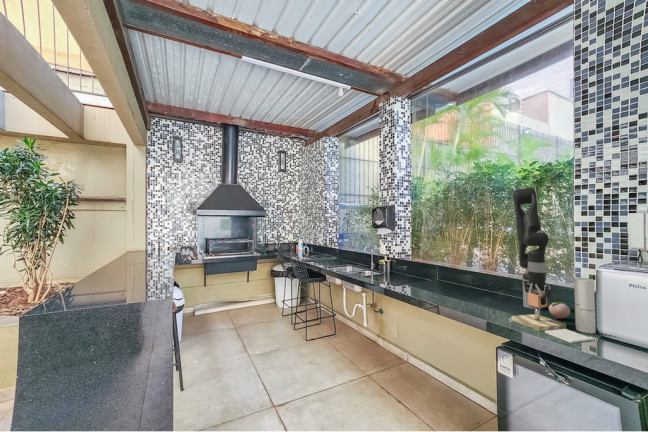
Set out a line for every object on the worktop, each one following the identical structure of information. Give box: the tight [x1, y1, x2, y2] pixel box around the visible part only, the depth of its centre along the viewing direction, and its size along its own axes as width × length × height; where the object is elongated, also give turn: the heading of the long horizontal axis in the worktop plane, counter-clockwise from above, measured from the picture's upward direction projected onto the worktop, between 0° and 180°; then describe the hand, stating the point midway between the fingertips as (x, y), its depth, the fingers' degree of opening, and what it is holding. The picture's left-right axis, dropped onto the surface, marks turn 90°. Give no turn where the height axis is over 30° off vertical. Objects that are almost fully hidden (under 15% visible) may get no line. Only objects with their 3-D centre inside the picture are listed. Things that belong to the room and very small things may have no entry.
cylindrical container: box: [573, 277, 597, 334], centre depth 137 cm, size 7×7×25 cm
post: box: [534, 307, 541, 321], centre depth 146 cm, size 2×2×6 cm
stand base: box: [511, 313, 567, 332], centre depth 145 cm, size 16×16×2 cm
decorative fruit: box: [548, 301, 571, 320], centre depth 152 cm, size 9×8×10 cm
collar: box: [528, 292, 548, 308], centre depth 146 cm, size 6×6×6 cm
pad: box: [544, 328, 594, 344], centre depth 130 cm, size 12×12×1 cm
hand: (537, 302), depth 146 cm, fingers closed on collar, 5 cm apart
